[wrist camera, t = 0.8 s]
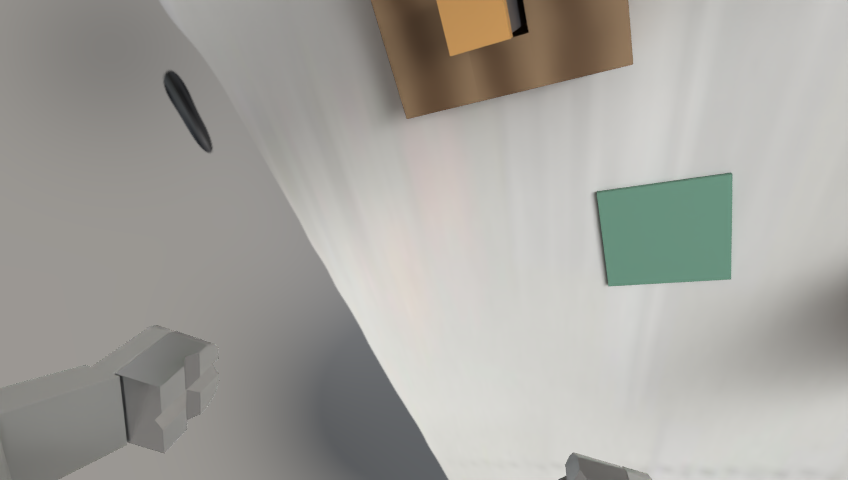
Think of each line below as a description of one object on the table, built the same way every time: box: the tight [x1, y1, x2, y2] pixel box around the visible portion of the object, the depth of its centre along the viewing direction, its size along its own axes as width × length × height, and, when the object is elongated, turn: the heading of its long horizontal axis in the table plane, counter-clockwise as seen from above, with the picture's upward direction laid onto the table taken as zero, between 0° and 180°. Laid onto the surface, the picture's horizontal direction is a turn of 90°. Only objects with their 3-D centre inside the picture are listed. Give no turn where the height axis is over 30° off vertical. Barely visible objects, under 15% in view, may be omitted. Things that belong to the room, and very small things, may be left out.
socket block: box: [371, 0, 633, 119], centre depth 38 cm, size 20×14×6 cm
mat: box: [597, 173, 732, 286], centre depth 46 cm, size 12×12×1 cm
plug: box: [436, 0, 527, 56], centre depth 34 cm, size 4×4×12 cm
